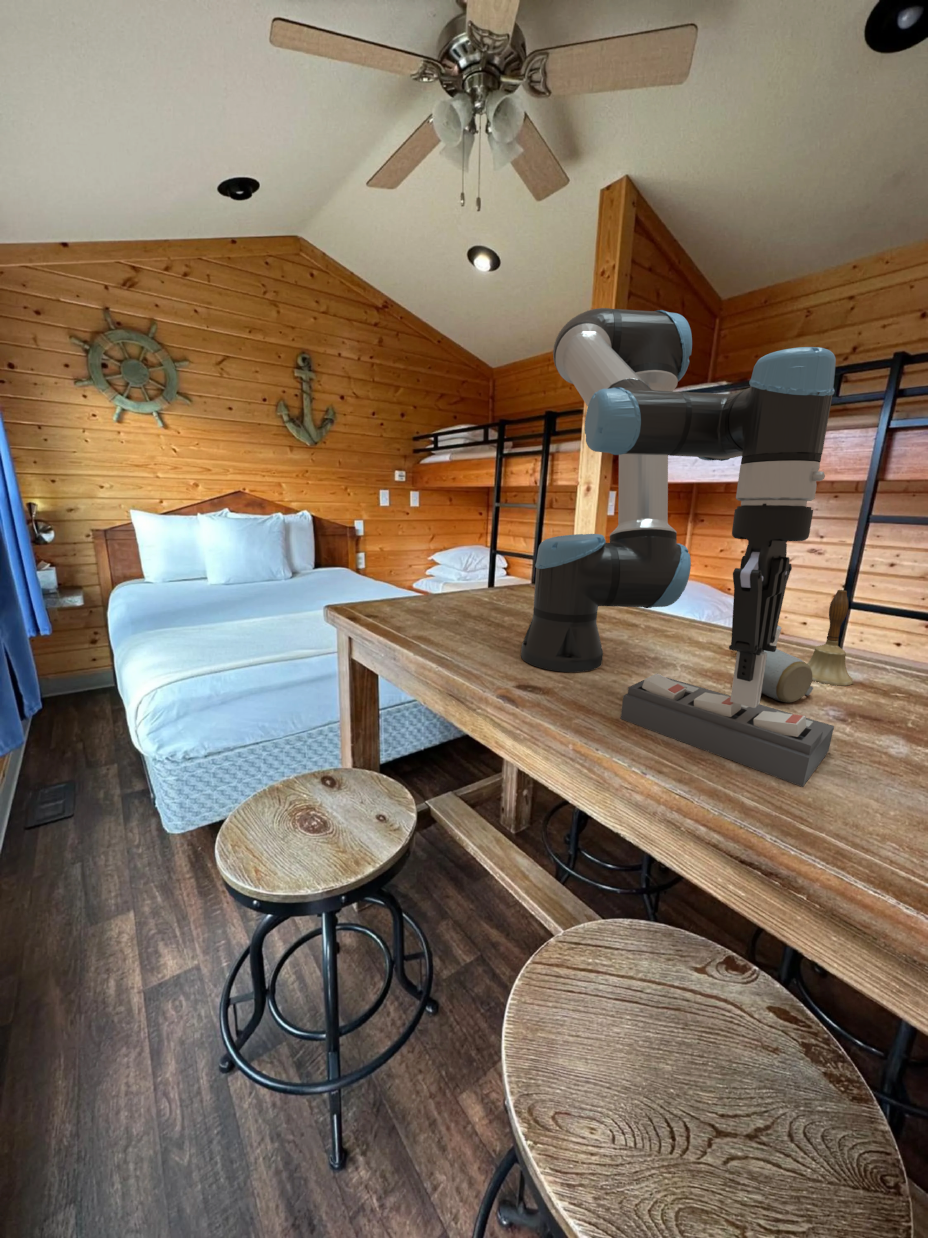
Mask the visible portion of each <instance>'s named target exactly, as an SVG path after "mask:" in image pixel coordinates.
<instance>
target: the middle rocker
mask: <svg viewBox="0 0 928 1238" xmlns="http://www.w3.org/2000/svg"><path fill="white" fill-rule="evenodd" d="M729 696H730V695H729ZM729 696H723V695H718V694H712V693H706V692H705V693H703V694H702V695H700V696H698V697H697V698H695V699H694V706H695V707H698V708H701V709H704V710H707V711H710V712H713V713H717V714H720V715H723V716H728V717H732V716H733V715H734V714H735V713H737V712H738V711H739V710H741V704H737V703H733V702H730V699H731V697H729Z"/></svg>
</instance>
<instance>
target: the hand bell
mask: <svg viewBox="0 0 928 1238" xmlns="http://www.w3.org/2000/svg"><path fill="white" fill-rule="evenodd" d="M847 593H848V591H847V590H843V589H838V590H836V593H835V595H834V596H833V598H832V600H831V602H830V604H829V609H828V620H829V628H828V632H827V636H826V642H825V643H824V644H819V645H817V646H815V648H814V651H813V653H812V655H811V658H810V659H809V660H808V662H806V663H807V664H808V665H809V666H810V668H811V670H812V682H815V681H816V683H818V682H819V684H823V683H825V684H824V685H828V684H830V685H829V686H836V685H837V686H839V687H840V686H841V687H847V686H851V685H853V684H854V680H853V678H852V676H851V675H850V673H848V671H847V667H846V657H847V656H846V654H847V652H846V650H844V648H843V649H842V648H841V647H840V646H839V637H840V632H841V626H842V625H843V622H844V621H845V618H846V617H847V614H848V611H849V599H848V594H847Z"/></svg>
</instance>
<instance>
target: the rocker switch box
mask: <svg viewBox="0 0 928 1238" xmlns="http://www.w3.org/2000/svg"><path fill="white" fill-rule="evenodd" d="M665 677H666V678H668V679H670V680H672V681H674V682H676V683H678V684H679V685H681V686H683V687H685V688H687V689H686V691H685V694H684V696H683V697H682V698H680V699H679V700H677V701H676V700H673V699H669V698H666V697H663V696H660V695H657V694H654V693H651V692H649V691H647V690H645V689H643V688H642V686H643V683H644V680H645V679H643V680H641V681H638V682H636V683H634V684H632V685H630V686H628V687H627V693H625V694H623V695H622V703H621V711H620V719H621V720H622V721H623V720H624V721H626V722H628V723H631V724H633V725H636V726H639V727H641V728H644V729H647V730H649V731H652V732H655V733H658V734H661V735H663V736H666V737H668V738H670V739H674V740H677V741H679V742H682V743H684V744H686V745H690V746H691V747H692V746H693V747H695V748H698V749H700V750H702V751H706V752H708V753H710V754H713V753H714V754H713V755H716V754H717V756H719V757H722V758H725V759H726V760H729V759H731V760H730V761H732V760H733V762H735V763H737V762H738V764H740V765H742V766H745V767H749V768H751V769H754V770H756V771H759V772H761V773H764V774H767V775H770V776H773V777H775V778H778V779H781V780H783V781H786V782H789V783H791V784H794V785H797V786H799V787H801V788H803V787H804V786H805V785H806V784H807V782H808V780H809V779H810V778H811V777H812V775H813V774H814V773H815V771H816V769H817V768H818V767H819V765H820V764H821V762H822V761H823V759H824V758H825V757H826V755H827V754H828V753H829V750H830V747H831V742H832V738H833V733H834V729H835V725H833V724H829V723H826V722H823V721H819V720H814V719H812V718H808V717H806V728H805V729H804V730H803V732H802V733H801V734H800V735H799V736H798V737H795V736H788V735H782V734H779V733H776V732H773V731H770V730H767V729H764V728H760V727H757V726H754V720H753V719H754V718H755V717H757V716H758V715H759V714H760V713H761V712H763V711H768V712H777V713H786V714H792V713H791V712H788V711H784V710H780V709H778V708H774V707H770V706H768V705H767V706H766V705H763V704H759V705H758V706H757V707H755V708H752V707H748V706H744V705H741V710H739V711H738V712H737V713H735V714H734V715H733V716H732V717H728V716H723V715H720V714H717V713H713V712H710V711H707V710H704V709H701V708H698V707H695V706H694V699H695V698H697V697H698V696H700V695H702V694H703V693H705V692H706V693H712V694H718V695H723V696H729V697H731V695H728V694H726V693H722V692H718V691H715V690H711V689H709V688H705V687H701V686H697V685H695V684H691V683H687V682H684V681H681V680H676V679H675V678H671V677H667V676H665Z"/></svg>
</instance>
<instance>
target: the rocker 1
mask: <svg viewBox="0 0 928 1238" xmlns="http://www.w3.org/2000/svg"><path fill="white" fill-rule="evenodd" d="M666 677H667V676H663V675H662V674H659V673H654V674H653V675H650V676H648V677H645V678H644V679H643V680H644V683H643V686H642V688H643V689H645V690H647V691H649V692H651V693H654V694H657V695H660V696H663V697H666V698H669V699H673V700H676V701H677V700H679V699H680V698H682V697H683V696H684V694H685V691H686V689H687V688H685V687H683V686H681V685H679V684H678V683H676V682H674V681H672V680H670V679H668V678H669V677H667V678H666Z"/></svg>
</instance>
